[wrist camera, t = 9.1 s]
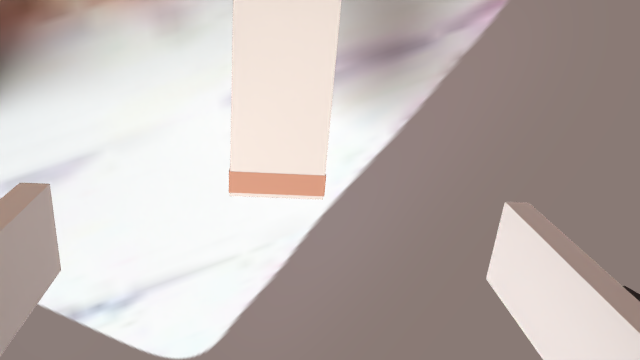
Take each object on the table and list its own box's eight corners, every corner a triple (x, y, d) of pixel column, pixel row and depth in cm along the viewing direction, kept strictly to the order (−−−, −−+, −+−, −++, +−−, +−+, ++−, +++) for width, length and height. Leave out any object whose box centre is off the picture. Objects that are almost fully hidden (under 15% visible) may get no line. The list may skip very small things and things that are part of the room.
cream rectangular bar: (238, -144, 23) (234, -158, 21) (347, -131, 24) (356, -144, 21) (232, 177, 29) (228, 195, 27) (319, 181, 30) (323, 199, 27)
